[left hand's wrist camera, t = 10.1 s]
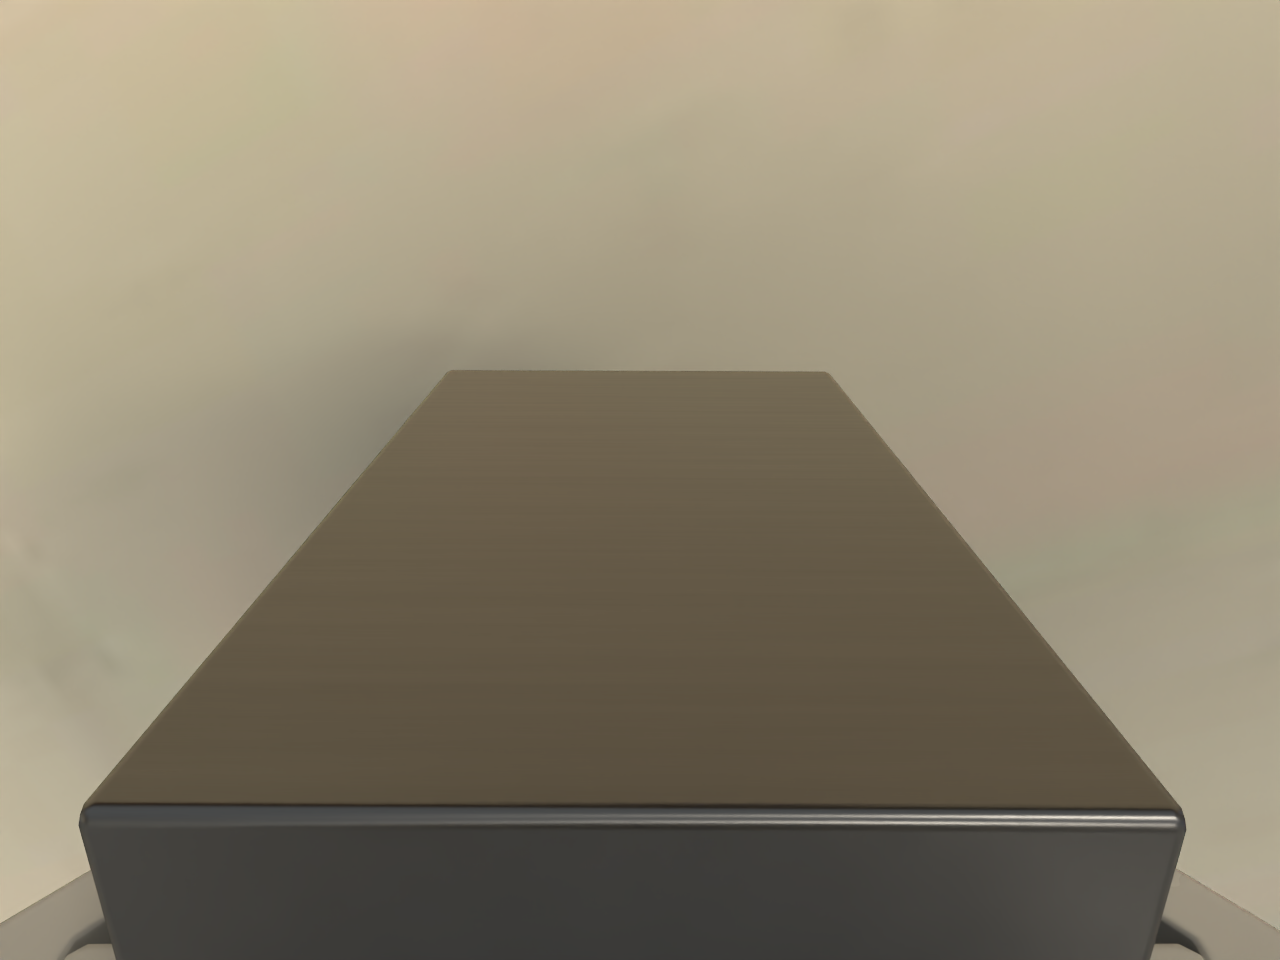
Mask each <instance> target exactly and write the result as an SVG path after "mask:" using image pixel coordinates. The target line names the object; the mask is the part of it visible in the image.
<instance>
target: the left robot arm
mask: <svg viewBox="0 0 1280 960" xmlns="http://www.w3.org/2000/svg"><path fill="white" fill-rule="evenodd" d="M0 960H116V958H115V955H114V951H113V947H112V944H111V940H110V937H109V933H108V929H107V926H106V922H105V919H104V915H103V911H102V908H101V904H100V901H99V897H98V893H97V890H96V886H95V882H94V879H93V875H92V872H91V870H90V871H88V872H86V873H85V874H83V875H81V876H80V877H78V878H76V879H75V880H73V881H71V882H70V883H68V884H66V885H64V886H63V887H61V888H59V889H58V890H56V891H54V892H53V893H51V894H49V895H48V896H46V897H44V898H43V899H41V900H39V901H37V902H36V903H34V904H32V905H31V906H29V907H27V908H26V909H24V910H22V911H21V912H19V913H17V914H15V915H14V916H12V917H10V918H9V919H7V920H5V921H4V922H2V923H0ZM1150 960H1280V931H1279V930H1278V929H1276V928H1274V927H1273V926H1271V925H1269V924H1268V923H1266V922H1264V921H1263V920H1261V919H1259V918H1258V917H1256V916H1254V915H1253V914H1251V913H1249V912H1248V911H1246V910H1244V909H1243V908H1241V907H1239V906H1238V905H1236V904H1234V903H1233V902H1231V901H1229V900H1228V899H1226V898H1224V897H1223V896H1221V895H1219V894H1218V893H1216V892H1214V891H1213V890H1211V889H1209V888H1208V887H1206V886H1204V885H1203V884H1201V883H1199V882H1198V881H1196V880H1194V879H1193V878H1191V877H1189V876H1188V875H1186V874H1184V873H1183V872H1181V871H1179V870H1178V869H1176V868H1175V872H1174V876H1173V879H1172V883H1171V886H1170V890H1169V893H1168V897H1167V901H1166V904H1165V908H1164V911H1163V915H1162V919H1161V922H1160V926H1159V929H1158V933H1157V936H1156V940H1155V944H1154V947H1153V951H1152V954H1151V958H1150Z"/></svg>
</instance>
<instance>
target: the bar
mask: <svg viewBox="0 0 1280 960" xmlns="http://www.w3.org/2000/svg"><path fill="white" fill-rule="evenodd" d="M79 828H80V832H81V836H82V839H83V843H84V846H85V850H86V854H87V857H88V861H89V864H90V868H91V872H92V875H93V879H94V882H95V886H96V890H97V893H98V897H99V901H100V904H101V908H102V911H103V915H104V919H105V922H106V926H107V929H108V933H109V937H110V940H111V944H112V947H113V951H114V955H115V958H116V960H1150V958H1151V954H1152V951H1153V947H1154V944H1155V940H1156V936H1157V933H1158V929H1159V926H1160V922H1161V919H1162V915H1163V911H1164V908H1165V904H1166V901H1167V897H1168V893H1169V890H1170V886H1171V883H1172V879H1173V876H1174V872H1175V868H1176V865H1177V861H1178V858H1179V854H1180V850H1181V847H1182V843H1183V840H1184V836H1185V832H1186V824H1185V818H1184V815H1183V812H1182V809H1181V807H1180V806H1179V805H1178V804H1177V802H1176V801H1175V800H1174V799H1173V797H1172V796H1171V795H1170V794H1169V792H1168V791H1167V790H1166V789H1165V788H1164V786H1163V785H1162V784H1161V783H1160V781H1159V780H1158V779H1157V778H1156V776H1155V775H1154V774H1153V773H1152V771H1151V770H1150V769H1149V768H1148V767H1147V765H1146V764H1145V763H1144V762H1143V760H1142V759H1141V758H1140V757H1139V755H1138V754H1137V753H1136V752H1135V750H1134V749H1133V748H1132V747H1131V746H1130V744H1129V743H1128V742H1127V741H1126V739H1125V738H1124V737H1123V736H1122V734H1121V733H1120V732H1119V731H1118V729H1117V728H1116V727H1115V726H1114V725H1113V723H1112V722H1111V721H1110V720H1109V718H1108V717H1107V716H1106V715H1105V713H1104V712H1103V711H1102V710H1101V708H1100V707H1099V706H1098V705H1097V704H1096V702H1095V701H1094V700H1093V699H1092V697H1091V696H1090V695H1089V694H1088V692H1087V691H1086V690H1085V689H1084V688H1083V686H1082V685H1081V684H1080V683H1079V681H1078V680H1077V679H1076V678H1075V676H1074V675H1073V674H1072V673H1071V671H1070V670H1069V669H1068V668H1067V667H1066V665H1065V664H1064V663H1063V662H1062V660H1061V659H1060V658H1059V657H1058V655H1057V654H1056V653H1055V652H1054V650H1053V649H1052V648H1051V647H1050V646H1049V644H1048V643H1047V642H1046V641H1045V639H1044V638H1043V637H1042V636H1041V634H1040V633H1039V632H1038V631H1037V629H1036V628H1035V627H1034V626H1033V625H1032V623H1031V622H1030V621H1029V620H1028V618H1027V617H1026V616H1025V615H1024V613H1023V612H1022V611H1021V610H1020V608H1019V607H1018V606H1017V605H1016V604H1015V602H1014V601H1013V600H1012V599H1011V597H1010V596H1009V595H1008V594H1007V592H1006V591H1005V590H1004V589H1003V587H1002V586H1001V585H1000V584H999V583H998V581H997V580H996V579H995V578H994V576H993V575H992V574H991V573H990V571H989V570H988V569H987V568H986V567H985V565H984V564H983V563H982V562H981V560H980V559H979V558H978V557H977V555H976V554H975V553H974V552H973V550H972V549H971V548H970V547H969V546H968V544H967V543H966V542H965V541H964V539H963V538H962V537H961V536H960V534H959V533H958V532H957V531H956V529H955V528H954V527H953V526H952V525H951V523H950V522H949V521H948V520H947V518H946V517H945V516H944V515H943V513H942V512H941V511H940V510H939V508H938V507H937V506H936V505H935V504H934V502H933V501H932V500H931V499H930V497H929V496H928V495H927V494H926V492H925V491H924V490H923V489H922V487H921V486H920V485H919V484H918V483H917V481H916V480H915V479H914V478H913V476H912V475H911V474H910V473H909V471H908V470H907V469H906V468H905V467H904V465H903V464H902V463H901V462H900V460H899V459H898V458H897V457H896V455H895V454H894V453H893V452H892V450H891V449H890V448H889V447H888V446H887V444H886V443H885V442H884V441H883V439H882V438H881V437H880V436H879V434H878V433H877V432H876V431H875V429H874V428H873V427H872V426H871V425H870V423H869V422H868V421H867V420H866V418H865V417H864V416H863V415H862V413H861V412H860V411H859V410H858V408H857V407H856V406H855V405H854V404H853V402H852V401H851V400H850V399H849V397H848V396H847V395H846V394H845V392H844V391H843V390H842V389H841V387H840V386H839V385H838V384H837V383H836V381H835V380H834V379H833V378H832V376H831V375H830V374H829V373H826V372H749V371H481V370H452V371H449V372H447V373H446V375H445V376H444V377H443V378H442V379H441V380H440V382H439V383H438V384H437V385H436V386H435V388H434V389H433V390H432V391H431V392H430V394H429V395H428V396H427V397H426V398H425V399H424V401H423V402H422V403H421V404H420V405H419V407H418V408H417V409H416V410H415V411H414V413H413V414H412V415H411V416H410V417H409V418H408V420H407V421H406V422H405V423H404V424H403V426H402V427H401V428H400V429H399V430H398V432H397V433H396V434H395V435H394V436H393V437H392V439H391V440H390V441H389V442H388V443H387V445H386V446H385V447H384V448H383V449H382V451H381V452H380V453H379V454H378V455H377V456H376V458H375V459H374V460H373V461H372V462H371V464H370V465H369V466H368V467H367V468H366V470H365V471H364V472H363V473H362V474H361V476H360V477H359V478H358V479H357V480H356V481H355V483H354V484H353V485H352V486H351V487H350V489H349V490H348V491H347V492H346V493H345V495H344V496H343V497H342V498H341V499H340V500H339V502H338V503H337V504H336V505H335V506H334V508H333V509H332V510H331V511H330V512H329V514H328V515H327V516H326V517H325V518H324V519H323V521H322V522H321V523H320V524H319V525H318V527H317V528H316V529H315V530H314V531H313V533H312V534H311V535H310V536H309V537H308V538H307V540H306V541H305V542H304V543H303V544H302V546H301V547H300V548H299V549H298V550H297V552H296V553H295V554H294V555H293V556H292V557H291V559H290V560H289V561H288V562H287V563H286V565H285V566H284V567H283V568H282V569H281V571H280V572H279V573H278V574H277V575H276V576H275V578H274V579H273V580H272V581H271V582H270V584H269V585H268V586H267V587H266V588H265V590H264V591H263V592H262V593H261V594H260V595H259V597H258V598H257V599H256V600H255V601H254V603H253V604H252V605H251V606H250V607H249V609H248V610H247V611H246V612H245V613H244V615H243V616H242V617H241V618H240V619H239V620H238V622H237V623H236V624H235V625H234V626H233V628H232V629H231V630H230V631H229V632H228V634H227V635H226V636H225V637H224V638H223V639H222V641H221V642H220V643H219V644H218V645H217V647H216V648H215V649H214V650H213V651H212V653H211V654H210V655H209V656H208V657H207V658H206V660H205V661H204V662H203V663H202V664H201V666H200V667H199V668H198V669H197V670H196V672H195V673H194V674H193V675H192V676H191V677H190V679H189V680H188V681H187V682H186V683H185V685H184V686H183V687H182V688H181V689H180V691H179V692H178V693H177V694H176V695H175V696H174V698H173V699H172V700H171V701H170V702H169V704H168V705H167V706H166V707H165V708H164V710H163V711H162V712H161V713H160V714H159V715H158V717H157V718H156V719H155V720H154V721H153V723H152V724H151V725H150V726H149V727H148V729H147V730H146V731H145V732H144V733H143V734H142V736H141V737H140V738H139V739H138V740H137V742H136V743H135V744H134V745H133V746H132V748H131V749H130V750H129V751H128V752H127V754H126V755H125V756H124V757H123V758H122V759H121V761H120V762H119V763H118V764H117V765H116V767H115V768H114V769H113V770H112V771H111V773H110V774H109V775H108V776H107V777H106V778H105V780H104V781H103V782H102V783H101V784H100V786H99V787H98V788H97V789H96V790H95V792H94V793H93V794H92V795H91V796H90V797H89V799H88V800H87V801H86V802H85V803H84V805H83V808H82V811H81V814H80V820H79Z"/></svg>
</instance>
